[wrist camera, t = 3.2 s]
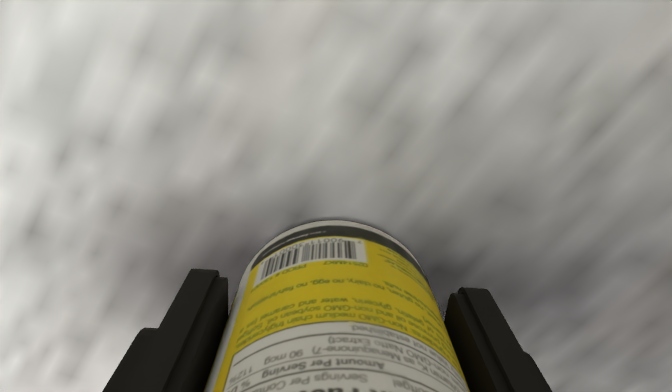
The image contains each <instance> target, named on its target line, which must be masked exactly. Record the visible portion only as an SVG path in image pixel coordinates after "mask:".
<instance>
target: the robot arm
mask: <svg viewBox="0 0 672 392" xmlns="http://www.w3.org/2000/svg"><path fill="white" fill-rule="evenodd" d="M227 319H228V279H227V278H224V277H220V275H219V271H218V270H205V269H191V270H190V272H189V274H188V275H187V277H186V279H185V281H184V283H183V284H182V286H181V288H180V290H179V292H178V294H177V295H176V297H175V299H174V301H173V303H172V304H171V306H170V308H169V310H168V312H167V313H166V315H165V317H164V319H163V321H162V322H161V324H160V326H159V328H143V329H142V330H140V332H139V333H138V334H137V336H136V337H135V339H134V341H133V342H132V344H131V346H130V347H129V349H128V351H127V352H126V354H125V355H124V357H123V359H122V360H121V362H120V364H119V365H118V367H117V369H116V370H115V372H114V373H113V375H112V377H111V378H110V380H109V382H108V383H107V385H106V387H105V388H104V390H103V391H102V392H204V389H205V386H206V383H207V380H208V377H209V374H210V371H211V368H212V365H213V362H214V359H215V356H216V353H217V350H218V347H219V344H220V341H221V338H222V334H223V331H224V328H225V325H226V322H227ZM444 324H445V327H446V330H447V332H448V335H449V338H450V340H451V343H452V345H453V348H454V351H455V353H456V356H457V358H458V361H459V364H460V366H461V369H462V372H463V374H464V377H465V380H466V382H467V385H468V388H469V390H470V392H552V390H551V389H550V387H549V385H548V384H547V382H546V380H545V378H544V377H543V375H542V373H541V372H540V370H539V368H538V367H537V365H536V363H535V361H534V360H533V359H532V357H531V356H530V355H529V354H528V353H526V352H524V351H523V350H522V348H521V346H520V345H519V343H518V341H517V339H516V338H515V336H514V334H513V332H512V331H511V329H510V327H509V325H508V324H507V322H506V320H505V318H504V317H503V315H502V313H501V311H500V310H499V308H498V306H497V304H496V303H495V301H494V299H493V297H492V296H491V294H490V292H489V291H488V290H487V289H479V288H464V287H461V288H460V289H459V291H458V293H452V294H451V295H450V297H449V301H448V306H447V310H446V315H445V320H444Z"/></svg>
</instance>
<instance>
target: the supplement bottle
mask: <svg viewBox="0 0 672 392" xmlns="http://www.w3.org/2000/svg"><path fill="white" fill-rule="evenodd" d="M204 392H470V390H469V388H468V385H467V382H466V380H465V377H464V374H463V372H462V369H461V366H460V364H459V361H458V358H457V356H456V353H455V351H454V348H453V345H452V343H451V340H450V338H449V335H448V332H447V330H446V327H445V324H444V322H443V319H442V317H441V314H440V311H439V309H438V306H437V303H436V300H435V298H434V296H433V294H432V291H431V289H430V286H429V283H428V280H427V278H426V276H425V274H424V272H423V270H422V268H421V266H420V264H419V263H418V261H417V260H416V258H415V257H414V256H413V255H412V254H411V253H410V251H409V250H408V249H407V248H405V247H404V246H403V245H402V244H401V243H400V242H398V241H397V240H396V239H394V238H393V237H391V236H390V235H388V234H386V233H384V232H382V231H380V230H377V229H375V228H372V227H370V226H367V225H363V224H359V223H355V222H349V221H341V220H333V221H318V222H313V223H308V224H304V225H301V226H298V227H295V228H293V229H290V230H288V231H286V232H284V233H282V234H280V235H279V236H277V237H276V238H274V239H273V240H271V241H270V242H269V243H268V244H266V245H265V246H264V247H263V248H262V249H261V250H260V251H259V252H258V253H257V254H256V255H255V257H254V258H253V259H252V261H251V262H250V263H249V265H248V267H247V268H246V270H245V272H244V274H243V276H242V279H241V281H240V284H239V287H238V290H237V292H236V295H235V298H234V302H233V304H232V306H231V310H230V313H229V317H228V319H227V322H226V325H225V328H224V331H223V334H222V338H221V341H220V344H219V347H218V350H217V353H216V356H215V359H214V362H213V365H212V368H211V371H210V374H209V377H208V380H207V383H206V386H205V389H204Z"/></svg>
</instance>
